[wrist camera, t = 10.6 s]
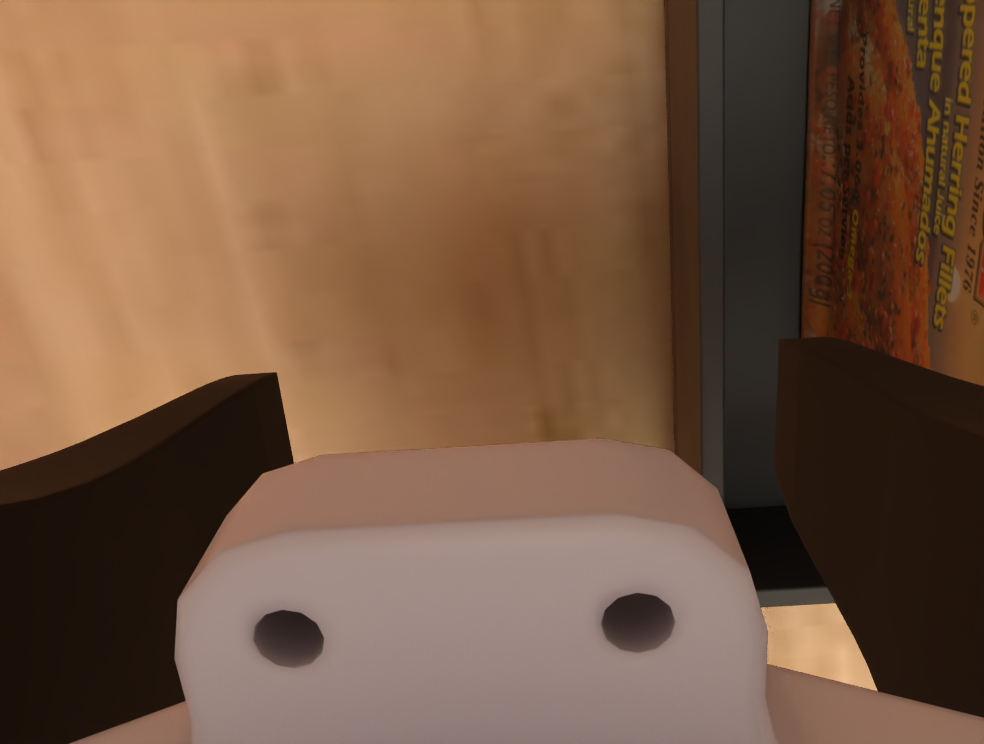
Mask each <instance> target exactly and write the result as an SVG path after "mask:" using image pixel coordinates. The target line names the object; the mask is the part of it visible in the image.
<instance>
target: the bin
mask: <svg viewBox="0 0 984 744" xmlns="http://www.w3.org/2000/svg"><path fill="white" fill-rule="evenodd" d="M664 7H665V50H666V94H667V137H668V180H669V224H670V267H671V310H672V354H673V397H674V440H675V455H677V456H678V457H679V458H680V459H682V460H683V461H684V462H685V463H686V464H688V465H689V466H690V467H691V468H693V469H694V470H695V471H696V472H697V473H699V474H700V475H701V476H702V477H704V478H705V479H706V480H707V481H708V482H710V483H711V484H712V485H713V486H715V487H716V488H717V489H718V491H719V494H720V496H721V499H722V502H723V504H724V507H725V509H726V512H727V514H728V517H729V519H730V522H731V525H732V527H733V530H734V532H735V535H736V537H737V540H738V542H739V545H740V548H741V550H742V553H743V555H744V558H745V560H746V563H747V565H748V568H749V571H750V574H751V577H752V580H753V584H754V587H755V590H756V594H757V597H758V600H759V604H760V607H776V606H793V605H811V604H828V603H835V601H834V599H833V597H832V596H831V594H830V592H829V590H828V588H827V586H826V585H825V583H824V581H823V579H822V577H821V575H820V574H819V572H818V570H817V568H816V566H815V564H814V563H813V561H812V559H811V557H810V555H809V553H808V551H807V549H806V548H805V546H804V544H803V542H802V540H801V538H800V536H799V534H798V532H797V530H796V529H795V527H794V525H793V523H792V520H791V518H790V515H789V512H788V509H787V506H786V504H785V501H784V498H783V495H782V492H781V489H780V486H779V483H778V480H777V477H776V473H775V470H774V453H775V427H776V402H777V376H778V350H779V339H794V338H801V295H802V268H803V228H804V207H805V178H806V143H807V101H808V78H809V42H810V11H811V0H664Z"/></svg>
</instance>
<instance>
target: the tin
mask: <svg viewBox="0 0 984 744" xmlns="http://www.w3.org/2000/svg"><path fill="white" fill-rule="evenodd" d="M809 337H832V338H837V339H841V340H845V341H848V342H852V343H855V344H858V345H861V346H864V347H867V348H870V349H873V350H876V351H878V352H881V353H884V354H887V355H890V356H893V357H895V358H898V359H901V360H904V361H907V362H909V363H912V364H915V365H918V366H921V367H924V368H927V369H930V370H933V371H936V372H939V373H942V374H945V375H948V376H951V377H954V378H957V379H961V380H964V381H968V382H971V383H974V384H978V385H981V386H984V0H811V11H810V42H809V78H808V101H807V143H806V178H805V207H804V228H803V268H802V295H801V338H809Z"/></svg>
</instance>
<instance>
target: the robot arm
mask: <svg viewBox="0 0 984 744" xmlns="http://www.w3.org/2000/svg"><path fill="white" fill-rule="evenodd" d="M774 470H775V473H776V477H777V480H778V483H779V486H780V489H781V492H782V495H783V498H784V501H785V504H786V506H787V509H788V512H789V515H790V518H791V520H792V523H793V525H794V527H795V529H796V530H797V532H798V534H799V536H800V538H801V540H802V542H803V544H804V546H805V548H806V549H807V551H808V553H809V555H810V557H811V559H812V561H813V563H814V564H815V566H816V568H817V570H818V572H819V574H820V575H821V577H822V579H823V581H824V583H825V585H826V586H827V588H828V590H829V592H830V594H831V596H832V597H833V599H834V601H835V603H836V605H837V607H838V608H839V610H840V612H841V614H842V616H843V618H844V619H845V621H846V623H847V625H848V627H849V629H850V630H851V632H852V634H853V636H854V638H855V640H856V642H857V644H858V646H859V648H860V650H861V652H862V655H863V657H864V659H865V661H866V663H867V665H868V668H869V670H870V673H871V675H872V678H873V680H874V683H875V685H876V688H877V690H878V691H874V690H870V689H866V688H862V687H858V686H854V685H850V684H846V683H842V682H838V681H834V680H830V679H826V678H822V677H818V676H814V675H810V674H806V673H802V672H797V671H793V670H789V669H785V668H781V667H777V666H773V665H769V664H767V644H768V630H767V627H766V624H765V620H764V617H763V614H762V610H761V607H760V604H759V600H758V597H757V594H756V590H755V587H754V584H753V580H752V577H751V574H750V571H749V568H748V565H747V563H746V560H745V558H744V555H743V553H742V550H741V548H740V545H739V542H738V540H737V537H736V535H735V532H734V530H733V527H732V525H731V522H730V519H729V517H728V514H727V512H726V509H725V507H724V504H723V502H722V499H721V496H720V494H719V491H718V489H717V488H716V487H715V486H713V485H712V484H711V483H710V482H708V481H707V480H706V479H705V478H704V477H702V476H701V475H700V474H699V473H697V472H696V471H695V470H694V469H693V468H691V467H690V466H689V465H688V464H686V463H685V462H684V461H683V460H682V459H680V458H679V457H678V456H677V455H675V454H674V453H673V452H672V451H671V450H668V449H662V448H656V447H651V446H645V445H639V444H634V443H628V442H623V441H617V440H611V439H606V438H597V439H581V440H564V441H547V442H530V443H513V444H496V445H479V446H463V447H446V448H429V449H412V450H395V451H378V452H361V453H344V454H328V455H320V456H317V457H314V458H310V459H307V460H304V461H301V462H298V463H295V464H294V461H293V456H292V451H291V446H290V440H289V435H288V430H287V424H286V419H285V414H284V409H283V403H282V398H281V393H280V387H279V382H278V377H277V372H275V373H259V374H244V375H234V376H229V377H225V378H222V379H219V380H217V381H214V382H211V383H209V384H207V385H204V386H202V387H200V388H198V389H195V390H193V391H191V392H189V393H187V394H185V395H183V396H180V397H178V398H176V399H174V400H172V401H170V402H168V403H166V404H164V405H162V406H160V407H158V408H156V409H153V410H151V411H149V412H147V413H145V414H143V415H141V416H139V417H137V418H134V419H132V420H130V421H128V422H125V423H123V424H121V425H119V426H116V427H114V428H112V429H110V430H107V431H105V432H103V433H101V434H98V435H96V436H94V437H92V438H89V439H87V440H85V441H83V442H80V443H78V444H75V445H73V446H70V447H68V448H65V449H62V450H60V451H57V452H54V453H52V454H49V455H46V456H43V457H40V458H37V459H34V460H32V461H29V462H26V463H23V464H20V465H17V466H14V467H11V468H7V469H4V470H1V471H0V744H984V386H981V385H978V384H974V383H971V382H968V381H964V380H961V379H957V378H954V377H951V376H948V375H945V374H942V373H939V372H936V371H933V370H930V369H927V368H924V367H921V366H918V365H915V364H912V363H909V362H907V361H904V360H901V359H898V358H895V357H893V356H890V355H887V354H884V353H881V352H878V351H876V350H873V349H870V348H867V347H864V346H861V345H858V344H855V343H852V342H848V341H845V340H841V339H837V338H832V337H809V338H794V339H779V350H778V376H777V402H776V427H775V453H774Z"/></svg>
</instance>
